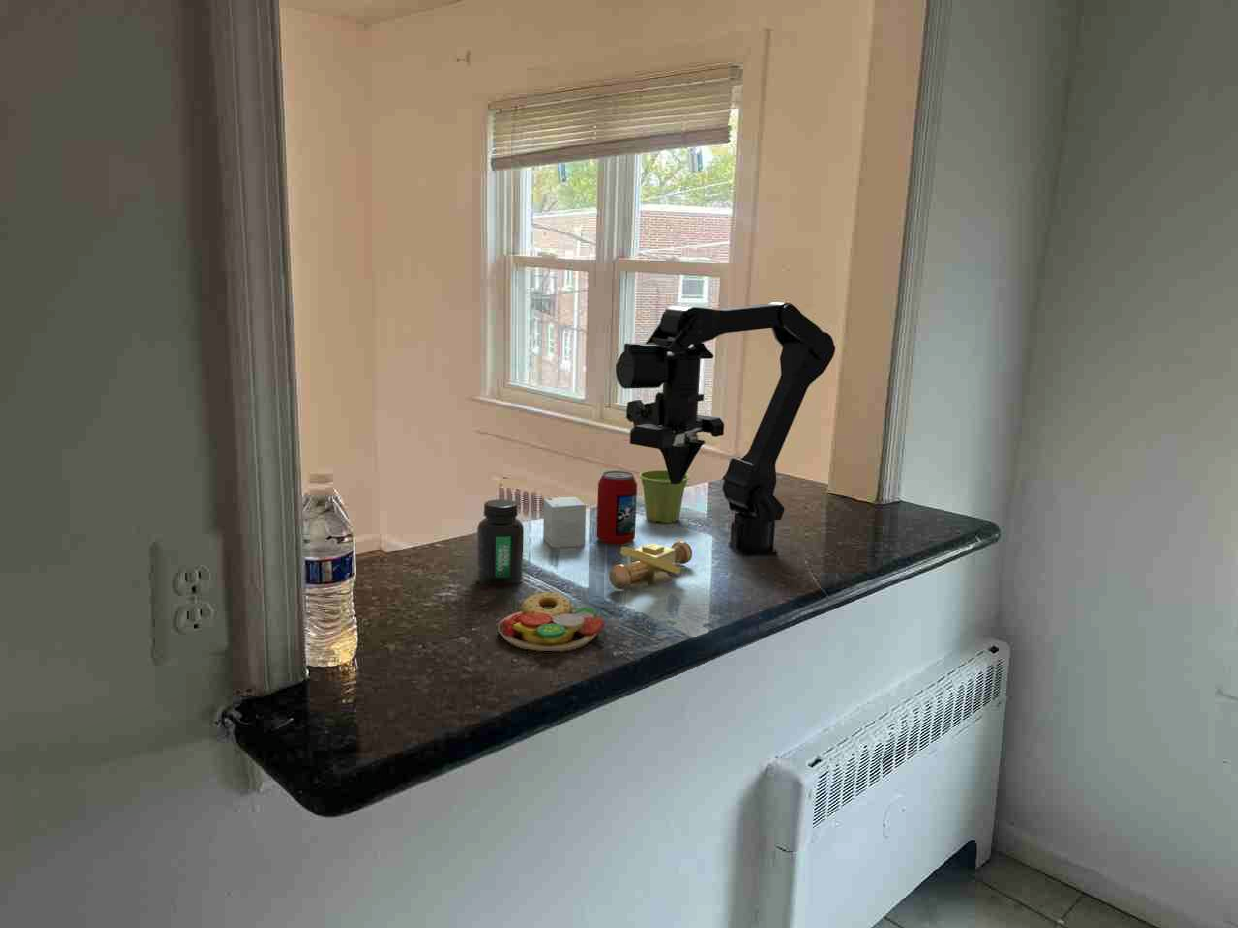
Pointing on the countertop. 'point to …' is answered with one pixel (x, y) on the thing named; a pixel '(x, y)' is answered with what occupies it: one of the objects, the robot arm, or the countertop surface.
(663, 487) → the plant pot
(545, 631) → the toy food set
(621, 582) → the valve body
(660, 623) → the countertop surface
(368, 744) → the countertop surface
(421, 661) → the countertop surface
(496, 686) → the countertop surface
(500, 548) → the supplement bottle
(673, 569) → the lever
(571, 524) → the skincare box
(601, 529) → the beverage can
